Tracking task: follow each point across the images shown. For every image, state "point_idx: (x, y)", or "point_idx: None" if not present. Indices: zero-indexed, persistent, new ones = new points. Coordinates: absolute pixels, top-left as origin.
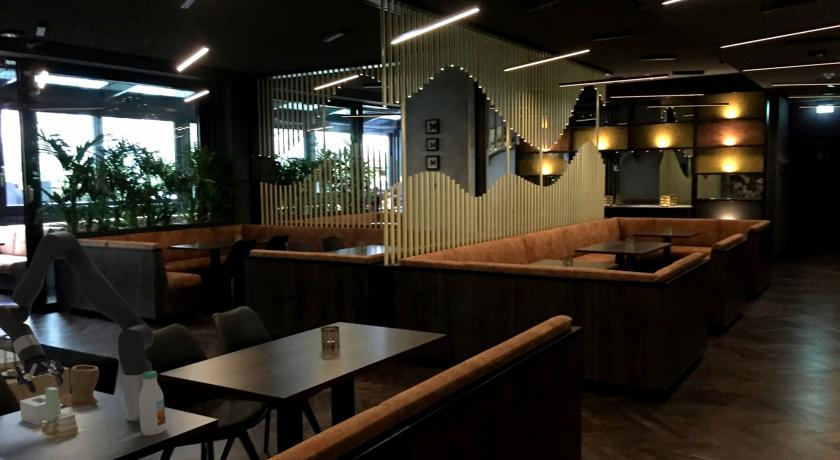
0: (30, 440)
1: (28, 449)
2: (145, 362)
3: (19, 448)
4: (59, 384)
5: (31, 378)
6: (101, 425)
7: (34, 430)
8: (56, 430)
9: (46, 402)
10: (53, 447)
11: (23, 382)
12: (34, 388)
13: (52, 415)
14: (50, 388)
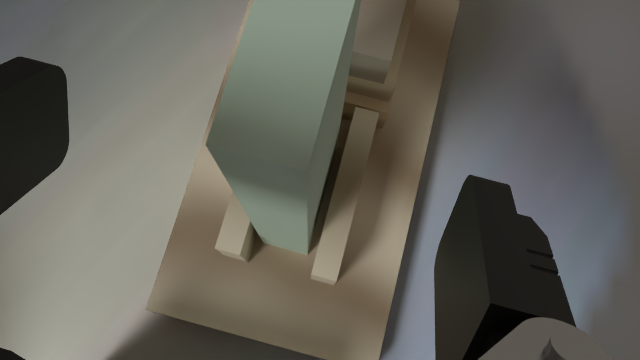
0: None
1: (553, 136)
2: None
3: (565, 210)
4: (57, 119)
5: (490, 350)
6: (98, 22)
7: (358, 340)
8: (406, 40)
9: (312, 199)
10: (475, 14)
11: None
12: (493, 189)
13: (336, 129)
14: (299, 49)
